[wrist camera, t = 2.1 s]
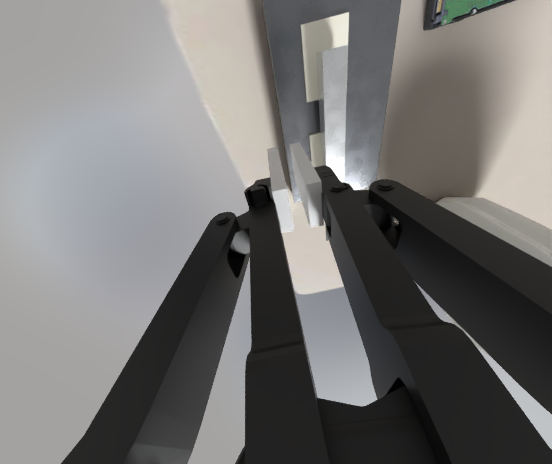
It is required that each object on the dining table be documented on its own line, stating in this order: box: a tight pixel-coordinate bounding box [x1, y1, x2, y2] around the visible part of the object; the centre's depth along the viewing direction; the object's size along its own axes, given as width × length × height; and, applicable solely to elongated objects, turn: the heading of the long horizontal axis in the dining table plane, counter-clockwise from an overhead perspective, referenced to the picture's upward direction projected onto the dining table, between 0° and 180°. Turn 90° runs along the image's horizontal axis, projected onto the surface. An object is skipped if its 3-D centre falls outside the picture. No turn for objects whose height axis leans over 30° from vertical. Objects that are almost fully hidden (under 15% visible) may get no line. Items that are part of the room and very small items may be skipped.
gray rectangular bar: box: [317, 45, 348, 182], centre depth 26 cm, size 19×2×3 cm, turn 11°
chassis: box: [262, 0, 401, 203], centre depth 28 cm, size 24×14×4 cm, turn 11°
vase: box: [435, 197, 552, 355], centre depth 34 cm, size 20×20×27 cm
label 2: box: [309, 129, 346, 167], centre depth 30 cm, size 7×5×1 cm
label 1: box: [300, 12, 349, 102], centre depth 23 cm, size 7×5×1 cm
